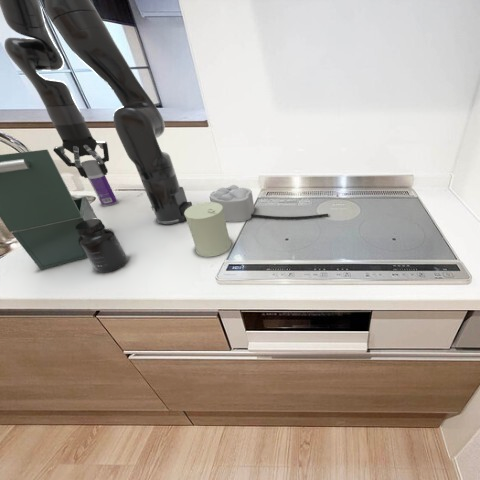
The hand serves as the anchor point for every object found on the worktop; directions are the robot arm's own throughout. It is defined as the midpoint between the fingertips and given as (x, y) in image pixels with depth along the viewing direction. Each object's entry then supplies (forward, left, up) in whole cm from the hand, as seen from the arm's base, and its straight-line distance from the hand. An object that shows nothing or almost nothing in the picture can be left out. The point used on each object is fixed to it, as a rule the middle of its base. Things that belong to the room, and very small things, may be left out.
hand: (96, 175), depth 88 cm
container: (0, 0, -11) cm, 11 cm away
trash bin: (-9, +27, -10) cm, 30 cm away
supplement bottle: (-24, +34, -11) cm, 43 cm away
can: (-47, +26, -11) cm, 55 cm away
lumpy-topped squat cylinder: (-47, +7, -11) cm, 49 cm away
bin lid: (-12, +31, +8) cm, 35 cm away
